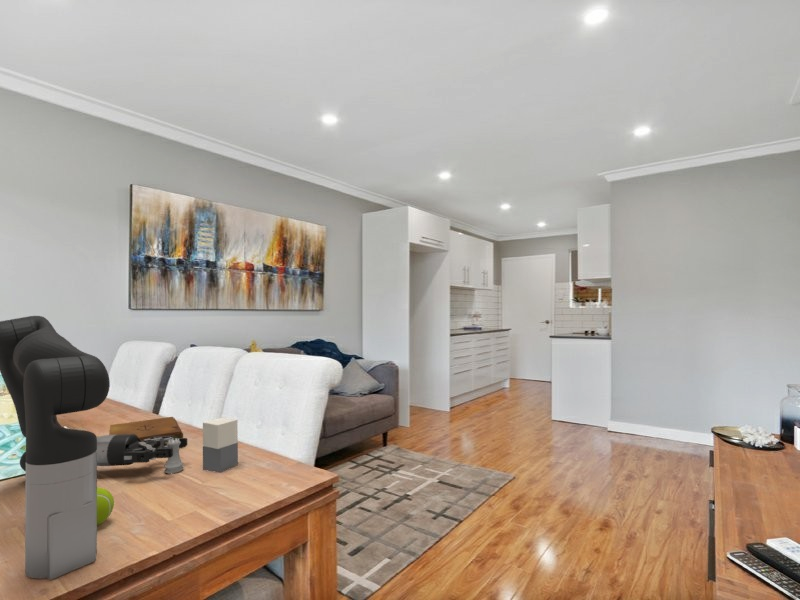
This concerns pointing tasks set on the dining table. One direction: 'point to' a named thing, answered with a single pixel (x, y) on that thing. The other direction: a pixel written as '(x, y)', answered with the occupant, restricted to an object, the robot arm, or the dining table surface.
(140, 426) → the diary
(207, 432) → the tower top
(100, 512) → the tennis ball
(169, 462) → the rook chess piece
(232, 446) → the tower base
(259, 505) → the dining table surface
